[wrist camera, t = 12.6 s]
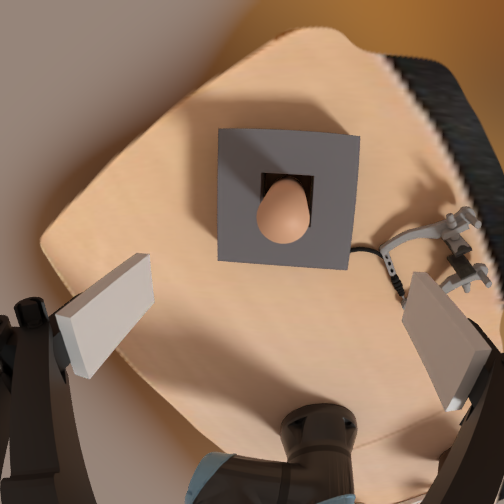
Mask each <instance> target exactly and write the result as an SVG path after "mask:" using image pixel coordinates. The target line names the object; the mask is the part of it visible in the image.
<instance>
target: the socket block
mask: <svg viewBox="0 0 504 504" xmlns="http://www.w3.org/2000/svg"><path fill="white" fill-rule="evenodd" d="M359 151H360V136H353V135H344V134H335V133H324V132H311V131H296V130H277V129H219V130H218V201H217V233H218V261H227V262H240V263H253V264H266V265H280V266H294V267H307V268H322V269H336V270H347V269H348V262H349V255H350V248H351V240H352V231H353V223H354V213H355V204H356V193H357V181H358V167H359ZM265 173H281V174H297V175H311V176H312V180H311V196H310V211H309V215H310V221H309V226H308V228H307V230H306V232H305V233H304V235H303V236H302V237H301V238H299V239H298V240H296V241H294V242H291V243H286V244H280V243H275V242H273V241H271V240H269V239H267V238H266V237H265V236H264V235H263V234H262V233H261V231H260V230H259V227H258V225H257V219H256V216H257V210H258V207H259V205H260V204H261V202H262V200H263V199H264V190H265Z"/></svg>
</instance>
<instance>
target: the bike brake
mask: <svg viewBox="0 0 504 504" xmlns="http://www.w3.org/2000/svg"><path fill="white" fill-rule="evenodd" d="M446 217H447V219H445V220H442V221H439V222H436V223H434V224H430V225H426V226H421V227H418V228H413V229H410V230H407V231H404V232H402V233H400V234H398V235H397V236H395V237H393V238H392V239H390V240H388V241H387V242H385V243H384V244H382V245H381V246H380V248H379V249H380V252H379V251H377V250H374V249H371V248H365V247H356V248H351V249H350V253H351V252H356V251H365V252H370V253H374V254H376V255H378V256H380V257H381V258H382V259H384V261H385V264H386V266H387V269H388V272H389V274H390V276H391V281H392V282H393V286H394V287H395V289H396V290H397V292H398V294H399V296H402V298H403V300H402V302H401V305H402V308H403V309H404V310H405V306H406V302H407V298H404V296H403V295H404V294H405V292H404V289H403V287H402V286H403V285H402V283H401V281H400V280H399V277H398V276H397V274H396V272H395V269H394V266H393V263H392V260H391V258H390V255H389V251H390V250H392V249H393V248H395V247H397V246H398V245H400V244H402V243H404V242H406V241H408V240H411V239H416V238H435V239H438V238H440V237H442V239H443V241H444V242H445V243H446V245H447V246H448V247H449V249H450V250H451V251H452V253H453V255H451V256H448V257H447V259H448V261H449V262H450V264H451V265H452V267H453V268H454V270H455V271H456V274H454V275H451V276H449V277H447V279H446V280H445V281H444V282H442V283H441V285H439V287H440V288H441V289H442V290H443V291H444V292H445V293H446V294H447V293H449V292H450V291H452V290H454V289H455V288H457V287H459V286H461V285H462V287H463V288H464V292H465V293H468V292H470V285H471V284H470V282H471V281H474V280H482V281H483V283H484V284H485V286H486V287H487V288H490V287H491V285H492V282H491V281H490V280H489V278H488V277H487V273H488V268H487V267H486V265H485V264H482V263H476V264H474V265H473V266H472V265H471V264H470V263H469V261H468V260H467V259H466V257H465V256H464V255H463V254H465V253H467V252H470V251H472V248H471V247H470V246H469V244H468V243H467V242H466V241H465V240H464V239H463V238H462V237H461V236H460V234H459V233H461V232H463V231H465V230H467V229H470V228H469V226H468V224H470V223H471V224H472V225H473V226H474V227H475V228H477V229H478V228H480V227H481V222H480V221H479V220H478V219H476V218H475V213H474V211H473V209H471V208H470V207H467V206H465V207H461V209H460V210H459V211H458V212H457V213H456V214H454V215H453V214H452V213H449V214H447V215H446ZM386 255H387V256H386Z"/></svg>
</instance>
